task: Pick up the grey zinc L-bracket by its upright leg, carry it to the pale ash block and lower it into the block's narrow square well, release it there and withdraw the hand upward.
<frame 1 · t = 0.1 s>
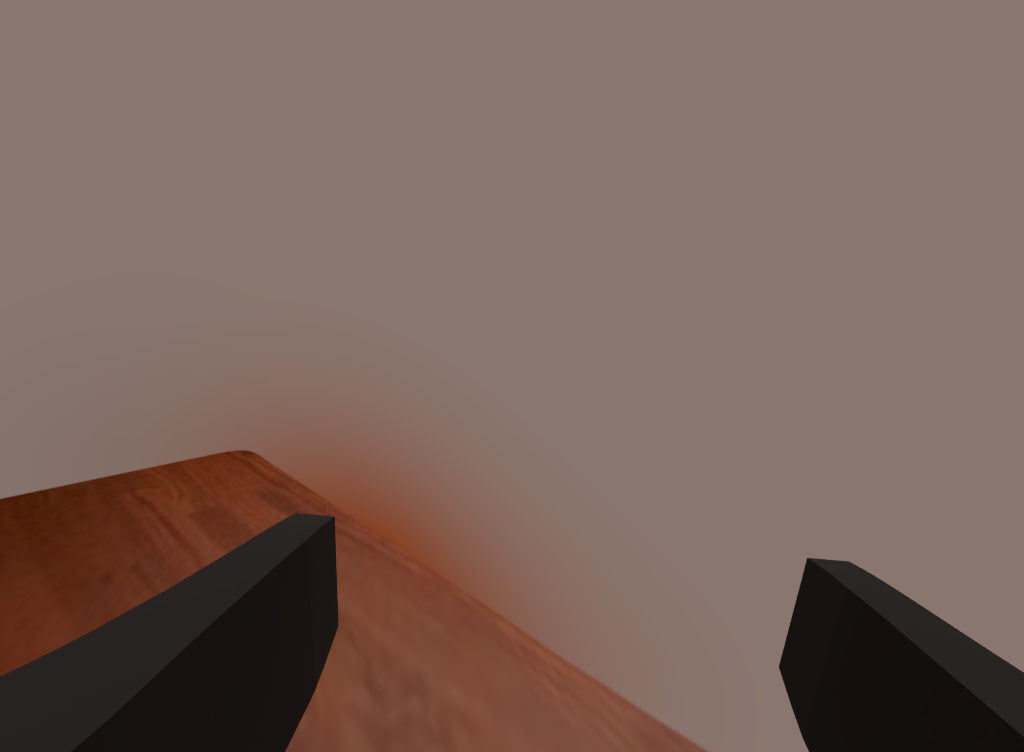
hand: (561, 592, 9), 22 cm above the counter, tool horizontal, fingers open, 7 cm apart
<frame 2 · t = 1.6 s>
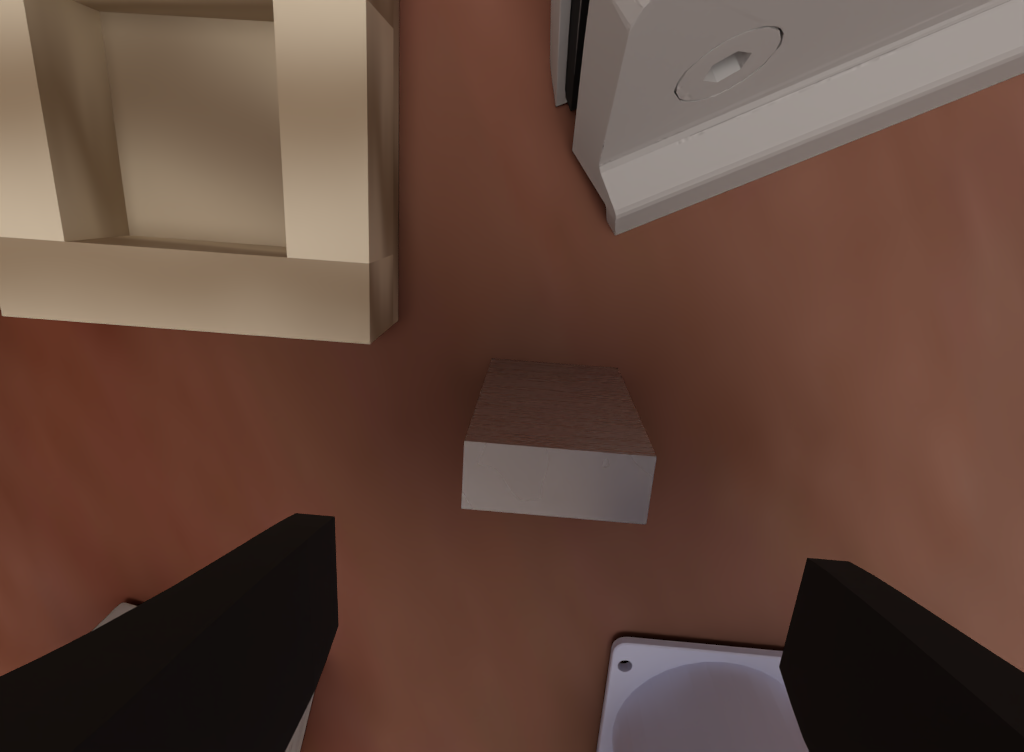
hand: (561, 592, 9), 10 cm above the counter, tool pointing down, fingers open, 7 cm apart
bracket: (549, 421, 19), on the counter
skincare box: (225, 672, 23), on the counter
well block: (227, 138, 16), on the counter
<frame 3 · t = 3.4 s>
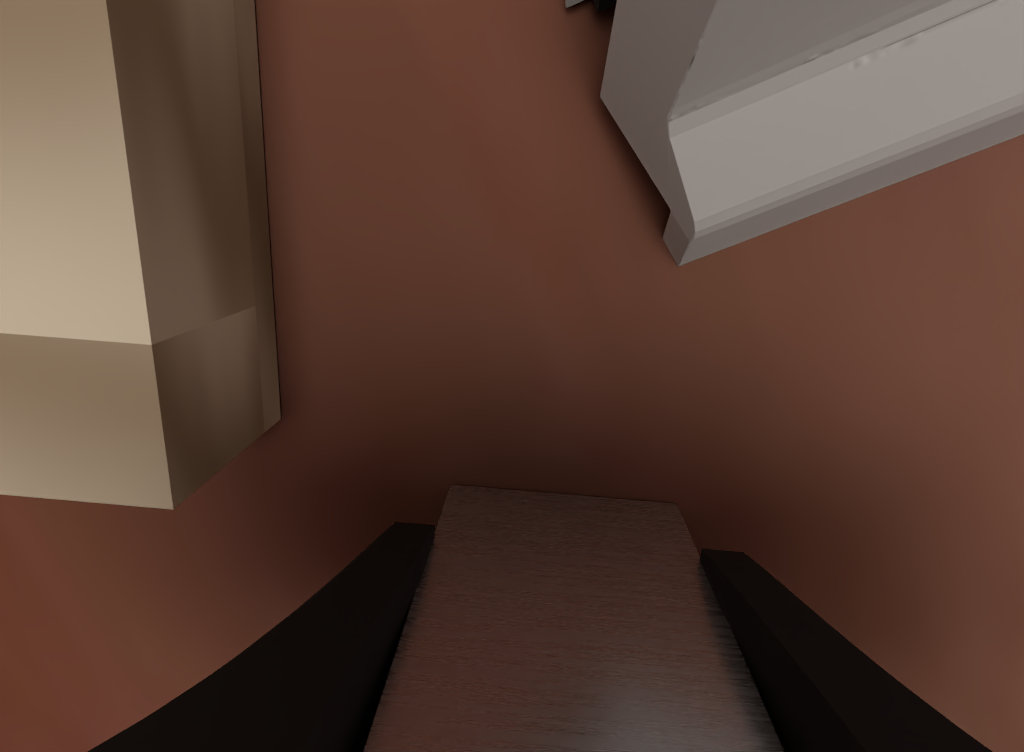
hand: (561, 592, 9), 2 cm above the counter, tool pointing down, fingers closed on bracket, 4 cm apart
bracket: (553, 588, 11), on the counter, touching gripper
when the fingers open (4 cm above the counter, at t = 7.0 s): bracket stays where it is, resting on well block.
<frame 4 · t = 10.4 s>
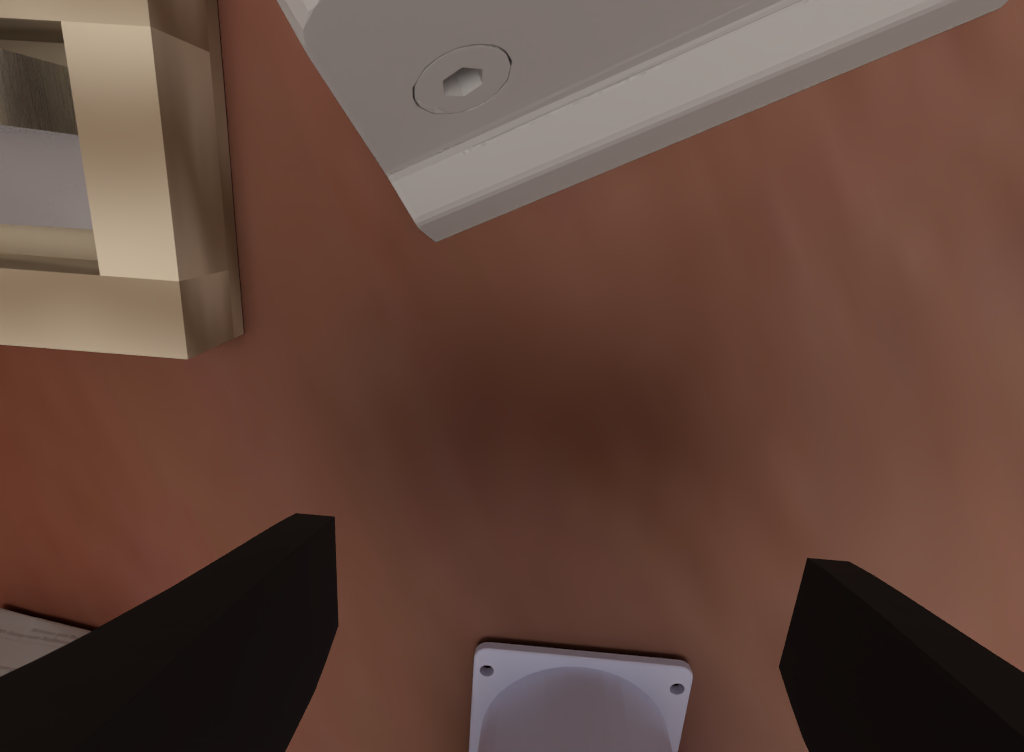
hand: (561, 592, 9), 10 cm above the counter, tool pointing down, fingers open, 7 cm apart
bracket: (47, 151, 16), point 1 cm above the counter, touching well block
skincare box: (107, 676, 23), on the counter
well block: (65, 156, 17), on the counter
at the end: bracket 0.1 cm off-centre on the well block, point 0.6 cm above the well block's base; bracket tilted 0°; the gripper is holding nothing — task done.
